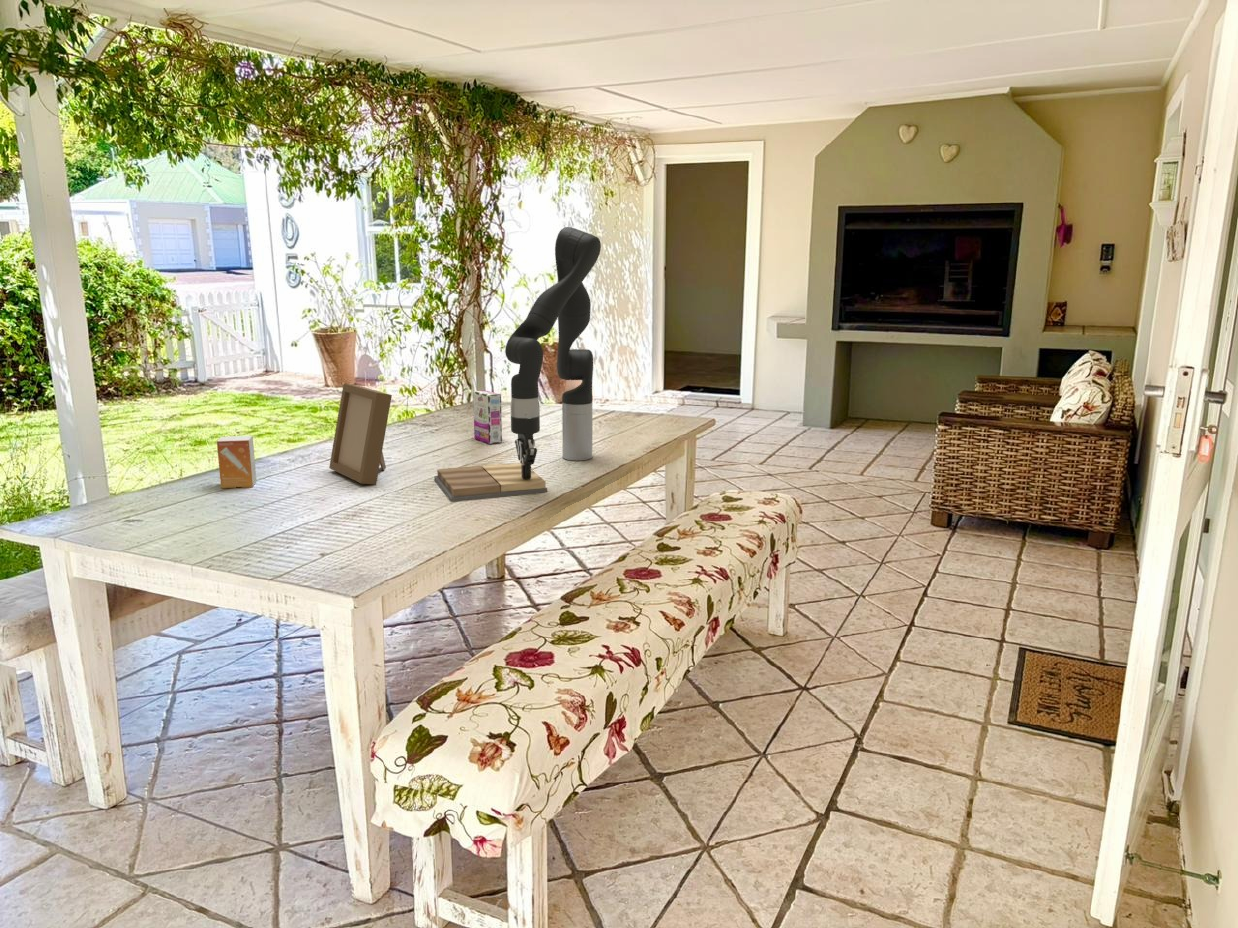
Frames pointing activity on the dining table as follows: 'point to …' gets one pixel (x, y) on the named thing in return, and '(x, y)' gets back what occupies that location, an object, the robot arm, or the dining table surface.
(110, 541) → the dining table surface
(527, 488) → the oak plank
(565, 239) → the robot arm
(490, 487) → the walnut plank
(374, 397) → the photo frame
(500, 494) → the underlay mat
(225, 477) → the small box
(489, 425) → the candy bar box
